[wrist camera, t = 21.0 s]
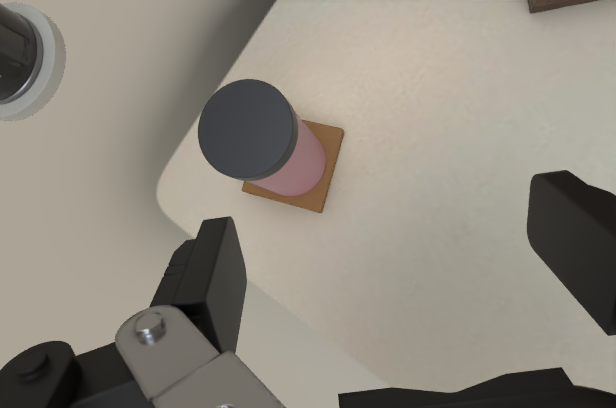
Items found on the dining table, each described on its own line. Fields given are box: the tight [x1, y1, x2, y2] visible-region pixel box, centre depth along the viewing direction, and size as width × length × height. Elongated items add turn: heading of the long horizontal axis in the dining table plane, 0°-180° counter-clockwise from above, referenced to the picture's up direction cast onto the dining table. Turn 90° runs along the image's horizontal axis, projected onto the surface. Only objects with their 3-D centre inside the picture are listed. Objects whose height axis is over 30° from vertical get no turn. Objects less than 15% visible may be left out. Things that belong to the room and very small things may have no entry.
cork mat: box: [242, 120, 344, 213], centre depth 34 cm, size 6×6×1 cm
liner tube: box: [198, 79, 326, 196], centre depth 29 cm, size 5×5×10 cm
